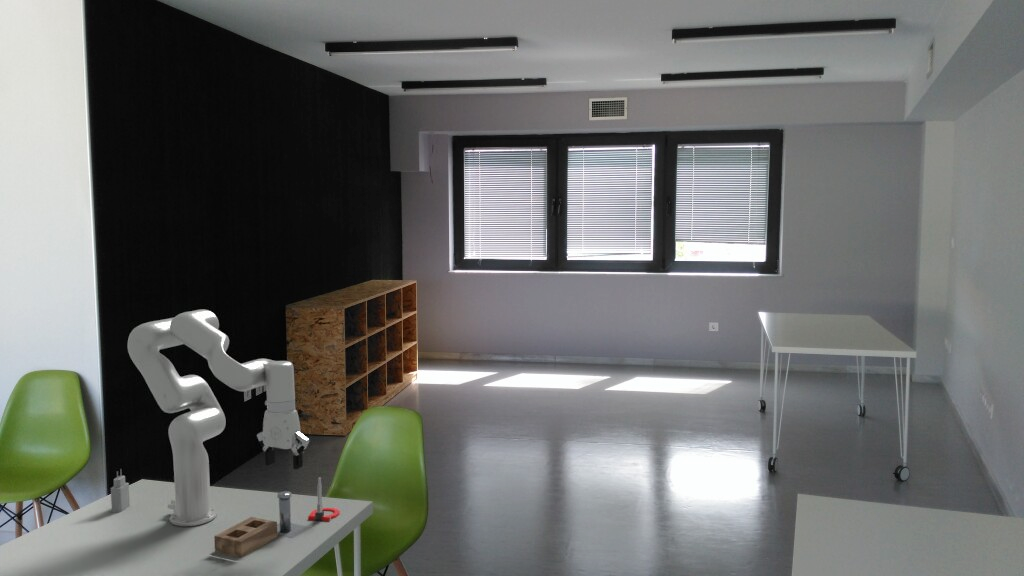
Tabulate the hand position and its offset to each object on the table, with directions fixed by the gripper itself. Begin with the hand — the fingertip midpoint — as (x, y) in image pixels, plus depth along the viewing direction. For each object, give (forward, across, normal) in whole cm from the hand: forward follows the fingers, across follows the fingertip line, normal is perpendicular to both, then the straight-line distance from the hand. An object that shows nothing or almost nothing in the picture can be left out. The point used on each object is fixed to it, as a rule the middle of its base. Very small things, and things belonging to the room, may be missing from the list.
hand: (284, 466), depth 218 cm
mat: (+19, -1, +1) cm, 19 cm away
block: (+19, -4, -11) cm, 22 cm away
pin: (+19, -1, 0) cm, 19 cm away
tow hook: (+20, +2, +14) cm, 24 cm away
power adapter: (+18, -58, -6) cm, 61 cm away
